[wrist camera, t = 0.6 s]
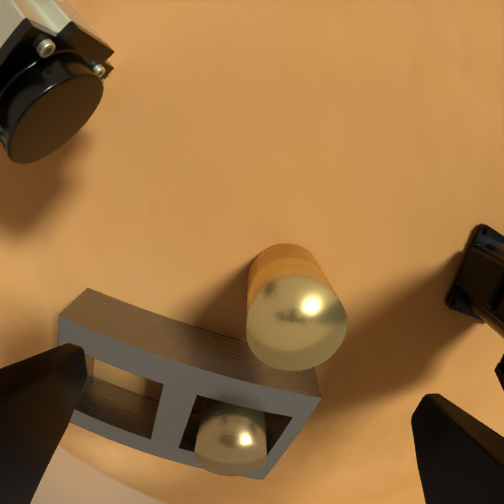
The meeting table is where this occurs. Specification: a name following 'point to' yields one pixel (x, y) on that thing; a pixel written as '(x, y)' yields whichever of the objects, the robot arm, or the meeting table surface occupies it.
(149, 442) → the jig
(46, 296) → the meeting table surface
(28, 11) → the pneumatic valve
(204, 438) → the dull gold rounded cylinder
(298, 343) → the brass domed cylinder
